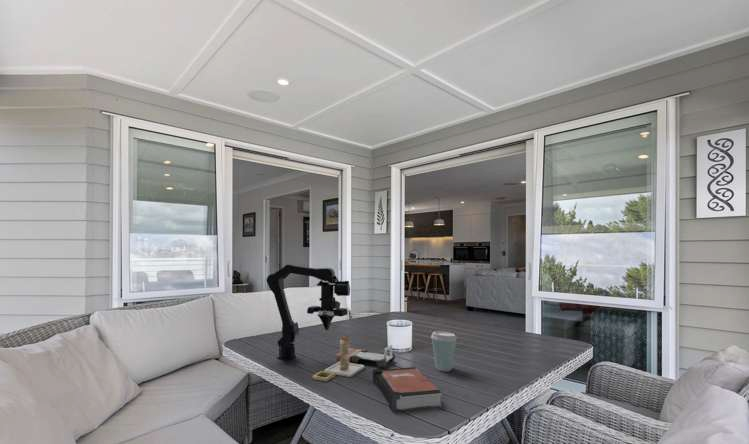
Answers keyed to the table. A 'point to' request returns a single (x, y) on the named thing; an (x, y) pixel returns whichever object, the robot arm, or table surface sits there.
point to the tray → (352, 370)
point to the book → (406, 389)
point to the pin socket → (317, 377)
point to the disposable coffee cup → (443, 349)
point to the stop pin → (344, 353)
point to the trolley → (374, 357)
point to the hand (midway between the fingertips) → (327, 330)
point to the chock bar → (351, 353)
